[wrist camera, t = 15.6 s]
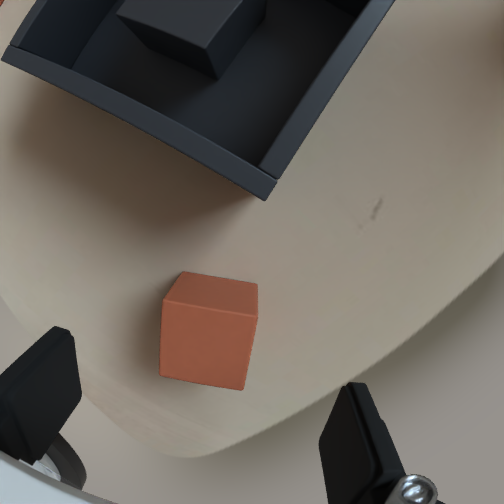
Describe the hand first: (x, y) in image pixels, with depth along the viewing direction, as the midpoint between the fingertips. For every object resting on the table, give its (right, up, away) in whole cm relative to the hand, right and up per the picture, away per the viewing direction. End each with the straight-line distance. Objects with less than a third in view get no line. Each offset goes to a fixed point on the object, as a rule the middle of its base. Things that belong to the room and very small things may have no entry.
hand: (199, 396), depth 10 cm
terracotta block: (0, +2, +7) cm, 8 cm away
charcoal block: (-1, +16, +3) cm, 16 cm away
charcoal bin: (-1, +16, +4) cm, 16 cm away
